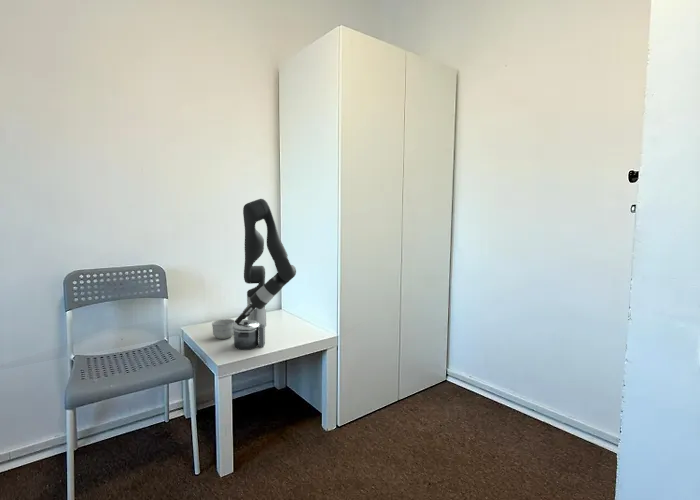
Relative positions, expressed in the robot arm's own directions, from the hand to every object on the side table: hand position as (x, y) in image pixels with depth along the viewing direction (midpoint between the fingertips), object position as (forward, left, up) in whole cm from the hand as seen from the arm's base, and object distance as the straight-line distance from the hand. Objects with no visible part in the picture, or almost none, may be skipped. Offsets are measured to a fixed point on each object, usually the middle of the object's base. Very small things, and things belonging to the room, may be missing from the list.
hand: (236, 322), depth 187 cm
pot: (-3, +5, -11) cm, 13 cm away
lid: (-2, +4, -2) cm, 5 cm away
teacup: (-7, -12, -11) cm, 18 cm away
